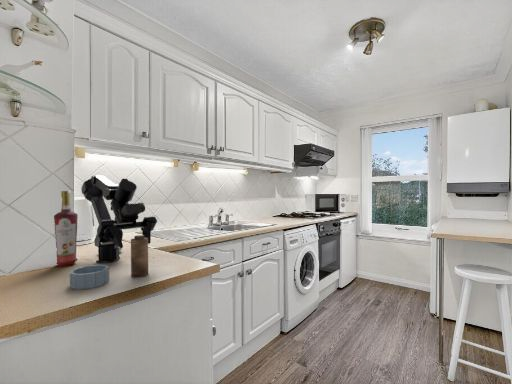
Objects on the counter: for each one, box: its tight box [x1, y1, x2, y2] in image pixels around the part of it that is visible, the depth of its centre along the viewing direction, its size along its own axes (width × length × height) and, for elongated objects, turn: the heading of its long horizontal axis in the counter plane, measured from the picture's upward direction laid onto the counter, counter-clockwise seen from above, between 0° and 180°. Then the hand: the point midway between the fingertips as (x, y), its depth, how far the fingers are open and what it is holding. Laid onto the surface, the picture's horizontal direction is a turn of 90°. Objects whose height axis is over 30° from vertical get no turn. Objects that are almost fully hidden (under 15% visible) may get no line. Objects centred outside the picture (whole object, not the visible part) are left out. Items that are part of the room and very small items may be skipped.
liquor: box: [53, 190, 79, 267], centre depth 100 cm, size 7×7×28 cm
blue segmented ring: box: [69, 264, 110, 291], centre depth 80 cm, size 10×10×4 cm
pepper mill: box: [130, 234, 149, 279], centre depth 87 cm, size 5×5×13 cm
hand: (136, 245), depth 89 cm, fingers open, 9 cm apart
